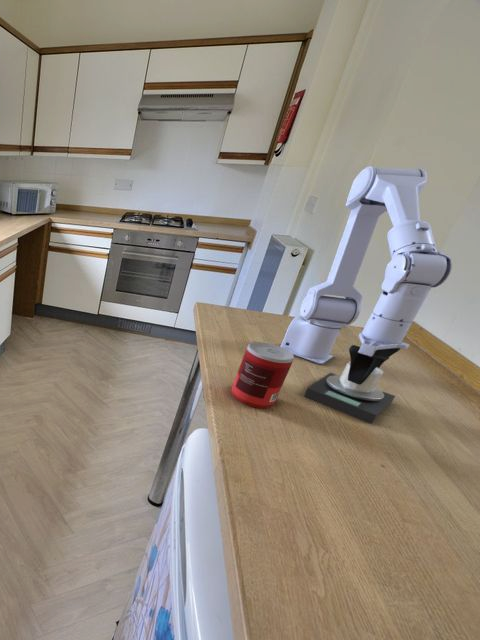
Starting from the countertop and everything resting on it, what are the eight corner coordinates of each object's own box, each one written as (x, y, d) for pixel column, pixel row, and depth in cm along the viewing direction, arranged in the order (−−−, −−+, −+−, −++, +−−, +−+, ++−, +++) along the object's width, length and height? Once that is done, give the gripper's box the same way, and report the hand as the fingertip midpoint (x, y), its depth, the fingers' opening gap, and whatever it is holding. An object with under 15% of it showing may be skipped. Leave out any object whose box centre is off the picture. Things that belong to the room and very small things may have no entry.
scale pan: (319, 384, 85) (320, 382, 85) (334, 373, 90) (335, 371, 90) (375, 406, 79) (376, 403, 78) (388, 393, 83) (390, 390, 83)
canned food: (266, 392, 86) (286, 345, 82) (279, 412, 79) (301, 363, 75) (226, 384, 88) (243, 338, 84) (234, 404, 82) (254, 355, 77)
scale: (303, 396, 86) (308, 385, 85) (326, 380, 92) (331, 370, 91) (371, 423, 77) (377, 412, 76) (390, 404, 84) (396, 393, 83)
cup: (334, 383, 85) (344, 364, 83) (343, 377, 87) (353, 358, 85) (367, 396, 81) (378, 376, 79) (376, 389, 83) (386, 369, 82)
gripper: (410, 331, 71) (373, 397, 76) (430, 316, 78) (395, 378, 84) (359, 317, 76) (328, 380, 82) (382, 305, 83) (352, 363, 89)
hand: (359, 378), depth 83 cm, fingers closed on cup, 5 cm apart
